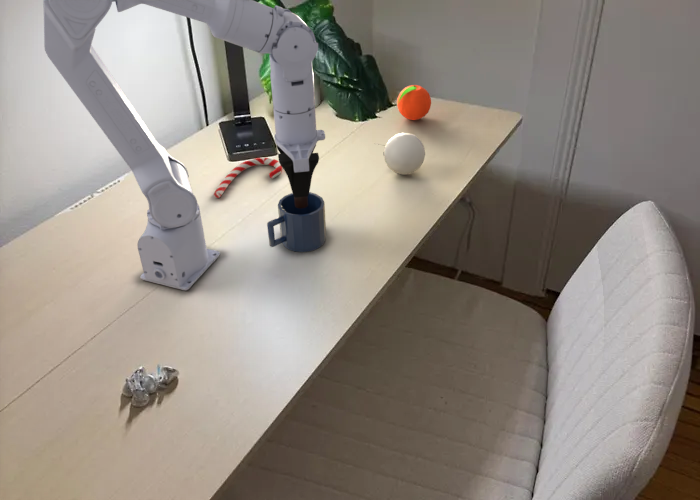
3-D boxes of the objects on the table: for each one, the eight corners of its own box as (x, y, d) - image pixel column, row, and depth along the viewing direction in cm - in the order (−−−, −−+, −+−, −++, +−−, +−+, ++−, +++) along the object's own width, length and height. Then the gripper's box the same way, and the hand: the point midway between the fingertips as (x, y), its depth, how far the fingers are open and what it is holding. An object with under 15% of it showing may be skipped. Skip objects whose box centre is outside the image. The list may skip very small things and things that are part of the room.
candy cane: (200, 187, 116) (255, 152, 126) (201, 194, 117) (256, 158, 127) (235, 199, 113) (289, 162, 123) (236, 206, 113) (289, 168, 123)
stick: (304, 209, 100) (301, 168, 96) (292, 207, 101) (289, 165, 97) (310, 203, 102) (307, 161, 98) (298, 200, 103) (295, 159, 99)
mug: (308, 221, 109) (306, 186, 105) (334, 240, 105) (333, 204, 101) (258, 243, 104) (254, 208, 101) (283, 264, 100) (280, 228, 96)
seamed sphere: (433, 171, 122) (435, 134, 117) (405, 186, 118) (406, 148, 113) (392, 153, 128) (393, 117, 123) (364, 167, 123) (364, 130, 119)
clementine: (409, 130, 135) (410, 96, 131) (385, 119, 140) (386, 86, 135) (437, 118, 139) (439, 85, 135) (413, 108, 144) (414, 76, 140)
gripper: (329, 126, 87) (333, 215, 95) (317, 83, 98) (321, 165, 106) (274, 130, 86) (283, 220, 94) (268, 86, 98) (276, 169, 106)
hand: (300, 191), depth 100 cm, fingers closed on stick, 2 cm apart
